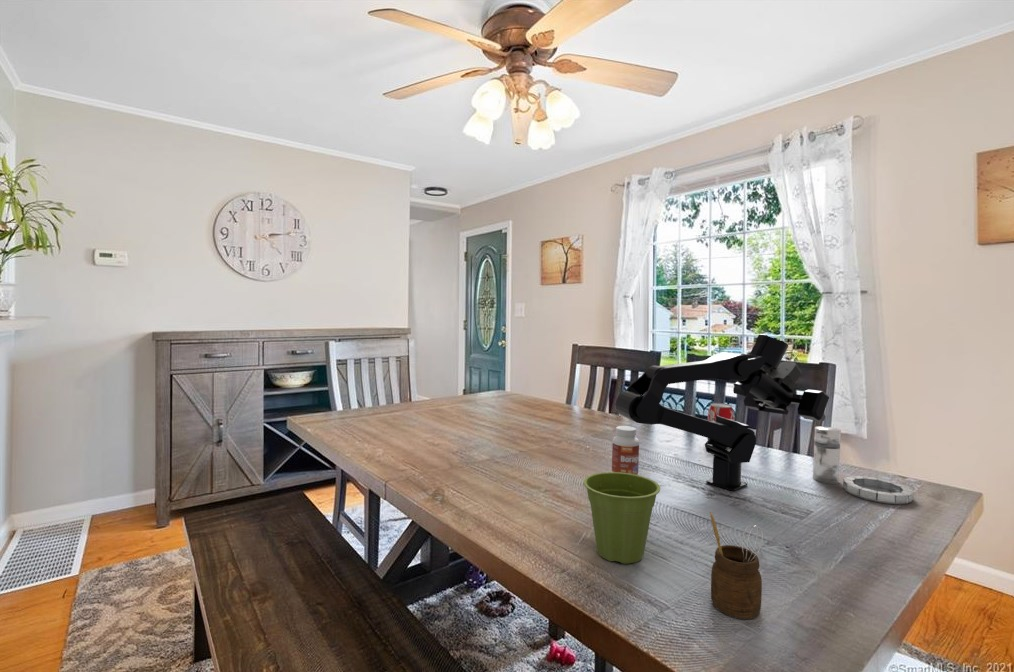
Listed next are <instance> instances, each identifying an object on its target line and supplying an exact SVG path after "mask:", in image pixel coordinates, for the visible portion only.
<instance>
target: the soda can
mask: <svg viewBox="0 0 1014 672" xmlns="http://www.w3.org/2000/svg"><path fill="white" fill-rule="evenodd" d="M716 416H720V417H723V418H726V419H730V420H734V421H735V411H734V409H733V405H732V404H728V403H721V402H715V403H710V407H709V408H708V411H707V421H716ZM706 439H707V441H708V440H709V438H706Z"/></svg>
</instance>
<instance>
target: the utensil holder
mask: <svg viewBox="0 0 1014 672" xmlns="http://www.w3.org/2000/svg"><path fill="white" fill-rule="evenodd" d="M709 514H710V519H711V525H712V530H713V533H714V536H715V539H716V543H717V548H716V549H715V552H714V561H713V564H712V567H711V575H710V576H711V578H710V579H711V580H710V597H711V598H710V599H711V602H712V604H713V606H714V607H715V608H716V609H717V610H718V611H720V612H721V613H723V615H727V616H728V617H731V618H735V619H740V620H751V619H754V618H756V617H758V616H759V615H760V613H761V608H762V595H763V593H762V592H763V581H762V580H763V579H762V575H761V572H760V571H759V569H760V560H759V557H758V554H759V552H760V551H761V548H762V544H763V541H761V544H760V546H759V548H758V551H757V552H756V553H755V552H754V551H755V548H756V543H757V540H758V536H759V534H756V538H755V543H754V546H753V548H752V550H749V549H748V546H749V545H748V544H749V539H750V535H751V532H752V530H753V529H754V528H755V527H756V529H757V532H759V531H760V532H761V540H763V538H764V532H763V530H762V528H761V527H759V526H758V525H755V524H751V528H750V531H749V533H748V534H749V535H748V537H747V542H746V547H744V543H743V541H744V535H745V533H746V530H747V529H748V528H749V527H750V524H748V525H747V526H746V527H745V529H744V532H743V534H742V538H741V546H738V545H731V544H723V545H721V541H720V539H721V537H720V534H719V531H718V527H717V524H716V519H715V517H714V515H713V514H712V512H711V511H710V512H709Z"/></svg>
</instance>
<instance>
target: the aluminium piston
mask: <svg viewBox="0 0 1014 672" xmlns="http://www.w3.org/2000/svg"><path fill="white" fill-rule="evenodd" d="M841 435H842V431H841V429H839V428H837V427H836V428H835V427H831V426H822V425H821V426H818V425H817V426H815V427H814V441H813V442H814V443H813V464H812V465H813V468H812V469H813V470H812V479H813V480H814V481H816V482H819V483H824V484H831V485H834V484H835V485H836V484H839V483H840V482H839V481H840V460H841V458H840V457H841V437H842V436H841Z"/></svg>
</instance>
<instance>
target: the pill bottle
mask: <svg viewBox="0 0 1014 672" xmlns="http://www.w3.org/2000/svg"><path fill="white" fill-rule="evenodd" d="M615 434H616V436H614V437H613V439H612V447H611V448H612V449H611V450H612V451H611V452H612V453H611V472H619V473H629V474H634V475H639V466H640V465H639V463H640V461H639V459H640V456H639V455H640V440H639V439H638V438H637V437H636V436H637V428H636V427H633V426H629V425H618V426H616V427H615Z"/></svg>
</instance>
